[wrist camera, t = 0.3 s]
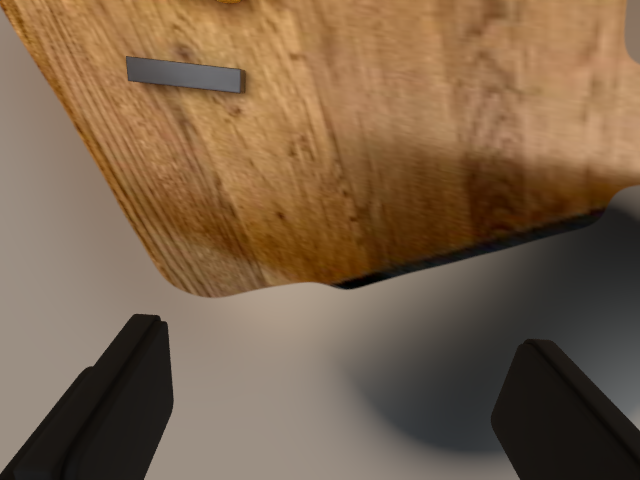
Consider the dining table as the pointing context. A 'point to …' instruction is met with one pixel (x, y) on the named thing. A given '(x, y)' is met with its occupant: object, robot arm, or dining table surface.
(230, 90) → the walnut ledge
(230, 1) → the element tile
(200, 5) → the dining table surface
